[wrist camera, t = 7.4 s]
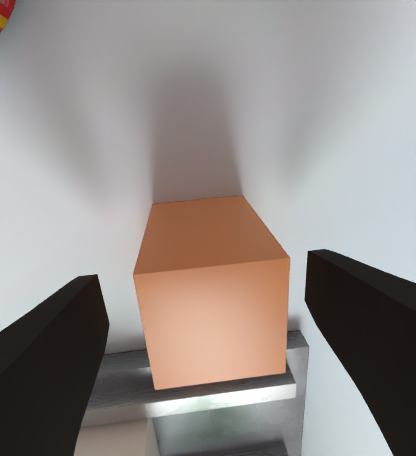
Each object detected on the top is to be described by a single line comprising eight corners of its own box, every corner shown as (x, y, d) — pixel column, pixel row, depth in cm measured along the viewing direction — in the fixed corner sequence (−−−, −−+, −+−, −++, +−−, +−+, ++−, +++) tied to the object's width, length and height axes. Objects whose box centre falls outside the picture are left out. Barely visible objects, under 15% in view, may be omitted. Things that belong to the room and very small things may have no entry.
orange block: (242, 195, 13) (290, 257, 8) (244, 273, 15) (285, 373, 9) (152, 203, 13) (132, 275, 7) (164, 281, 14) (154, 390, 9)
